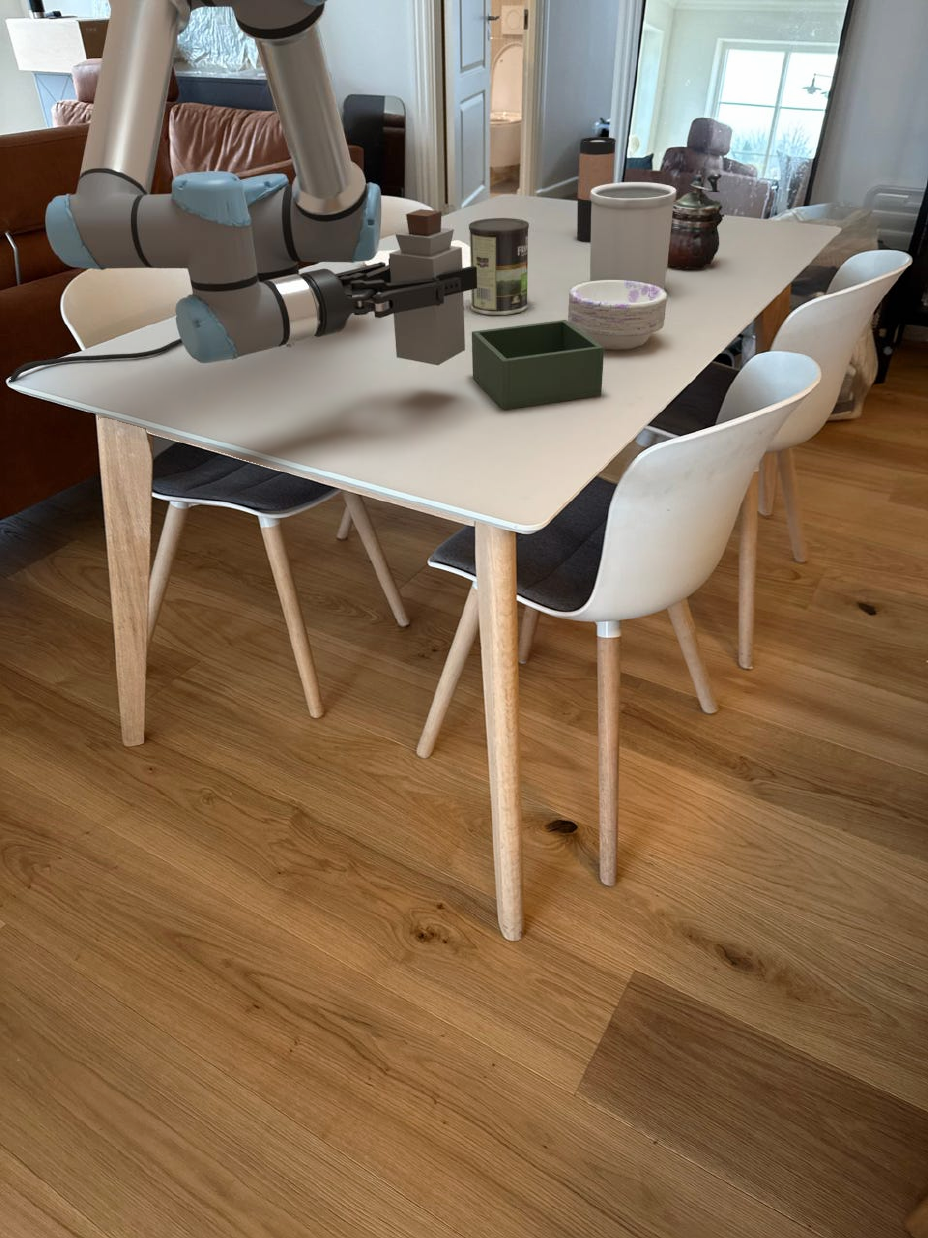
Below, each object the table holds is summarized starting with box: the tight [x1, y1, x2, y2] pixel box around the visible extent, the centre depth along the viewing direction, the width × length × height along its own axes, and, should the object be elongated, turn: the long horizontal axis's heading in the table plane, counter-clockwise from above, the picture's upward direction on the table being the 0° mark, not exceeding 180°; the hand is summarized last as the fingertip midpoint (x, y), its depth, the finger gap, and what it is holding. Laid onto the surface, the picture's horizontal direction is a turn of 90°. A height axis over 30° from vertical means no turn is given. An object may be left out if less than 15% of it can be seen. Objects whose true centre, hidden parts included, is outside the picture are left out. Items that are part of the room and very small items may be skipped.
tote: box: [471, 319, 605, 411], centre depth 128 cm, size 15×14×7 cm
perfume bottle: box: [389, 208, 466, 366], centre depth 119 cm, size 7×7×18 cm
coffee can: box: [468, 217, 530, 316], centre depth 158 cm, size 10×10×14 cm
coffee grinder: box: [667, 173, 725, 270], centre depth 176 cm, size 13×15×18 cm
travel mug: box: [576, 136, 617, 243], centre depth 198 cm, size 8×8×20 cm
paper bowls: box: [567, 280, 668, 351], centre depth 143 cm, size 15×15×8 cm
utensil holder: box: [589, 181, 677, 291], centre depth 163 cm, size 15×15×18 cm
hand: (457, 271), depth 120 cm, fingers closed on perfume bottle, 7 cm apart
